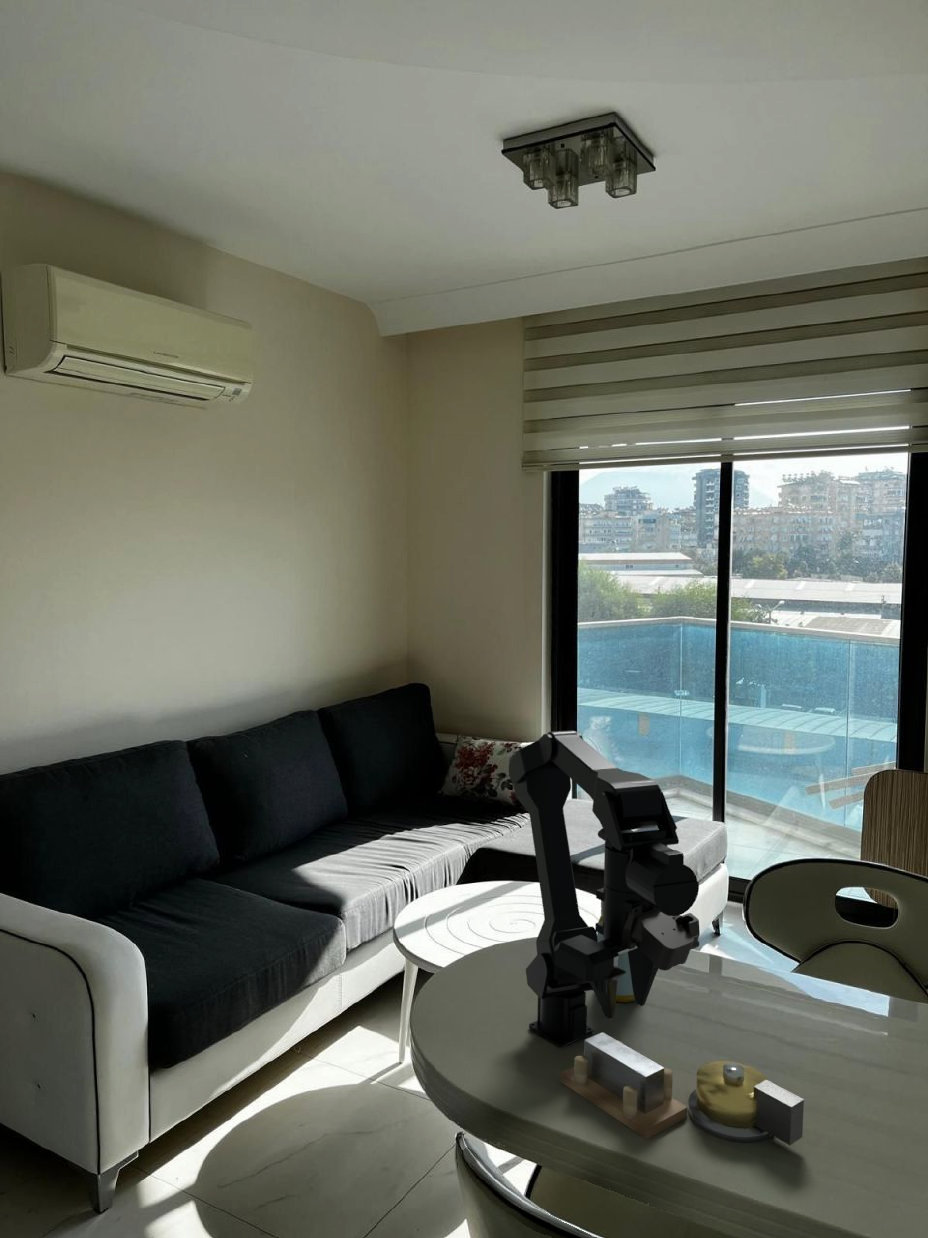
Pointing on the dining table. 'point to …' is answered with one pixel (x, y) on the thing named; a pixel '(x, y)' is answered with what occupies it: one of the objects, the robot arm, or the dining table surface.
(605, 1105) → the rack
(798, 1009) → the dining table surface
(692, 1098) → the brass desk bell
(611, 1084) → the long grey slab
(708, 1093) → the brass disc with block
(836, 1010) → the dining table surface
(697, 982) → the dining table surface
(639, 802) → the robot arm
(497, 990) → the dining table surface
